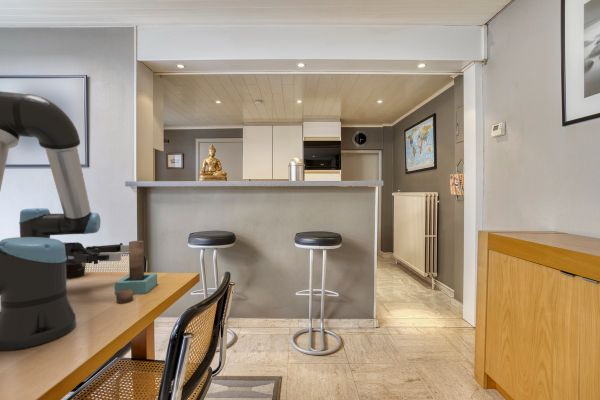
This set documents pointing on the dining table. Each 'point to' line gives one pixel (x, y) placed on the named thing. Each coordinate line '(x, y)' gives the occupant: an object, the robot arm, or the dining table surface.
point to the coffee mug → (75, 270)
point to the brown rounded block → (124, 296)
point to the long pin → (136, 260)
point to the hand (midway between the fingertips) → (130, 252)
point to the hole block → (137, 284)
